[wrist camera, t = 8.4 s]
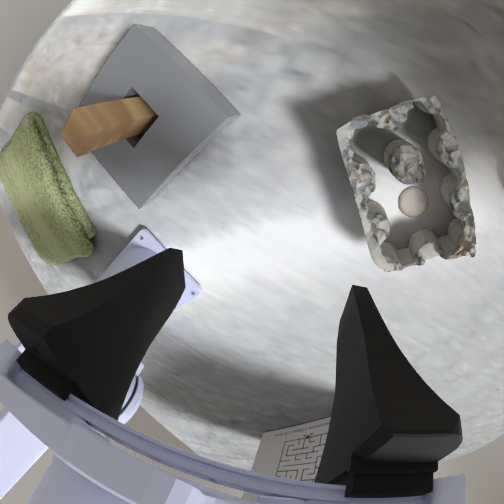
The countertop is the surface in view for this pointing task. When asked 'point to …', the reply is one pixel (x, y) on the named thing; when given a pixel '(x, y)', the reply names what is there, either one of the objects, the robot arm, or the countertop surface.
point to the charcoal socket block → (157, 112)
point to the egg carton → (411, 188)
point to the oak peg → (106, 123)
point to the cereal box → (291, 452)
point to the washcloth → (44, 195)
